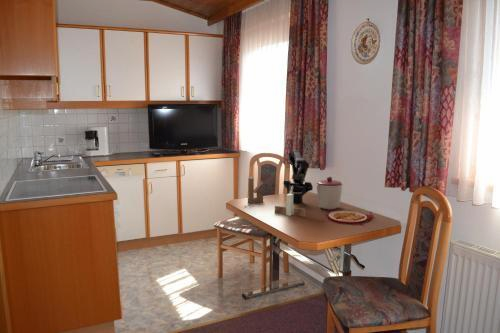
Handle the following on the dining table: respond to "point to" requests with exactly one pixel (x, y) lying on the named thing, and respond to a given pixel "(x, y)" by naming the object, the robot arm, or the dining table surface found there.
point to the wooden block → (255, 191)
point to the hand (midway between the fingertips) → (294, 195)
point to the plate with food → (348, 217)
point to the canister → (329, 193)
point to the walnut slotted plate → (296, 211)
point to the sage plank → (289, 204)
